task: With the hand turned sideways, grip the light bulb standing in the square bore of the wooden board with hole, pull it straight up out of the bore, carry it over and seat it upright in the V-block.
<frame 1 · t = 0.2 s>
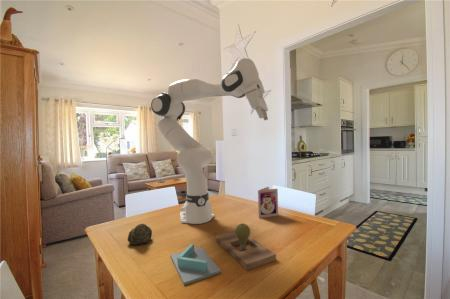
hand: (264, 119, 100), 52 cm above the table, tool tilted 20°, fingers open, 8 cm apart
wooden board with hole: (243, 249, 83), on the table
seashell: (141, 240, 95), on the table
V-block: (193, 264, 74), on the table
light bulb: (243, 249, 83), resting in wooden board with hole
greeting card: (266, 215, 120), on the table
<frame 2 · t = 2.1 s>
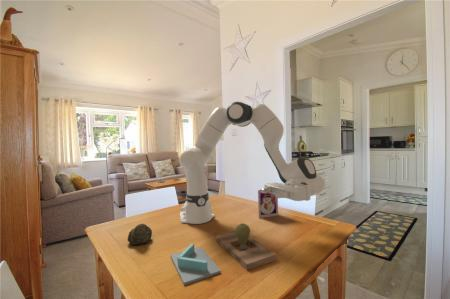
hand: (269, 193, 88), 20 cm above the table, tool horizontal, fingers open, 8 cm apart
nothing on the table moved.
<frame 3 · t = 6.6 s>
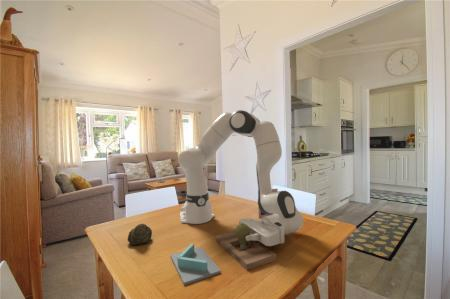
hand: (240, 234, 83), 6 cm above the table, tool horizontal, fingers closed on light bulb, 5 cm apart
light bulb: (243, 249, 83), resting in wooden board with hole, touching gripper
everything else where it was.
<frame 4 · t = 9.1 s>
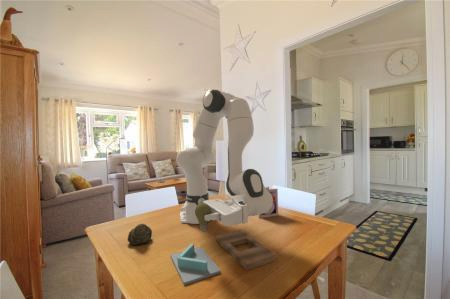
hand: (200, 214, 75), 17 cm above the table, tool horizontal, fingers closed on light bulb, 5 cm apart
light bulb: (203, 231, 76), point 11 cm above the table, touching gripper
everything else where it was.
when the fingers open (8 cm above the table, at t = 11.6 s): light bulb stays where it is, resting on V-block.
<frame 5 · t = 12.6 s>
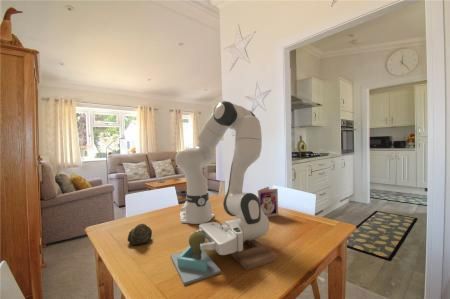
hand: (195, 241, 74), 8 cm above the table, tool horizontal, fingers open, 8 cm apart
light bulb: (197, 261, 75), point 1 cm above the table, touching V-block
everything else where it was.
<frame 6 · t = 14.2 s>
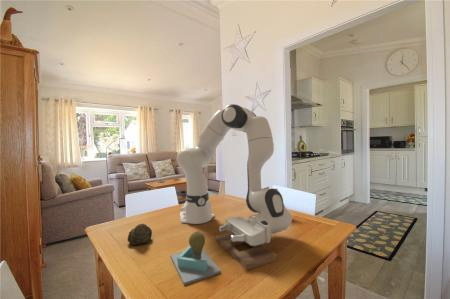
hand: (225, 233, 80), 8 cm above the table, tool horizontal, fingers open, 8 cm apart
nothing on the table moved.
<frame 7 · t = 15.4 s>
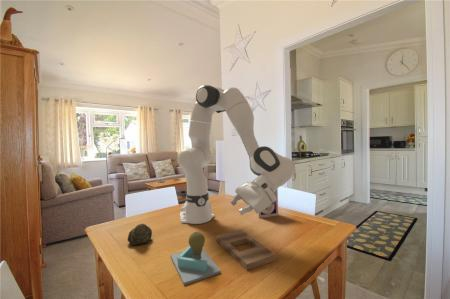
hand: (235, 208, 86), 15 cm above the table, tool tilted 55°, fingers open, 8 cm apart
nothing on the table moved.
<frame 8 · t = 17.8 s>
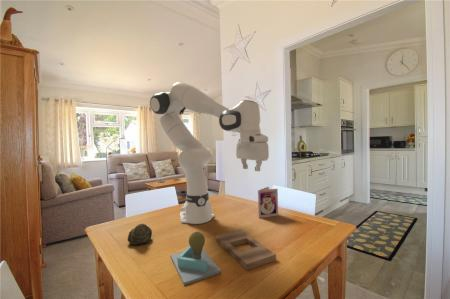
hand: (251, 169, 94), 29 cm above the table, tool pointing down, fingers open, 8 cm apart
nothing on the table moved.
at the end: light bulb 0.2 cm from the target spot on the V-block, point 0.6 cm above the V-block's base; light bulb tilted 1°; the gripper is holding nothing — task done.
